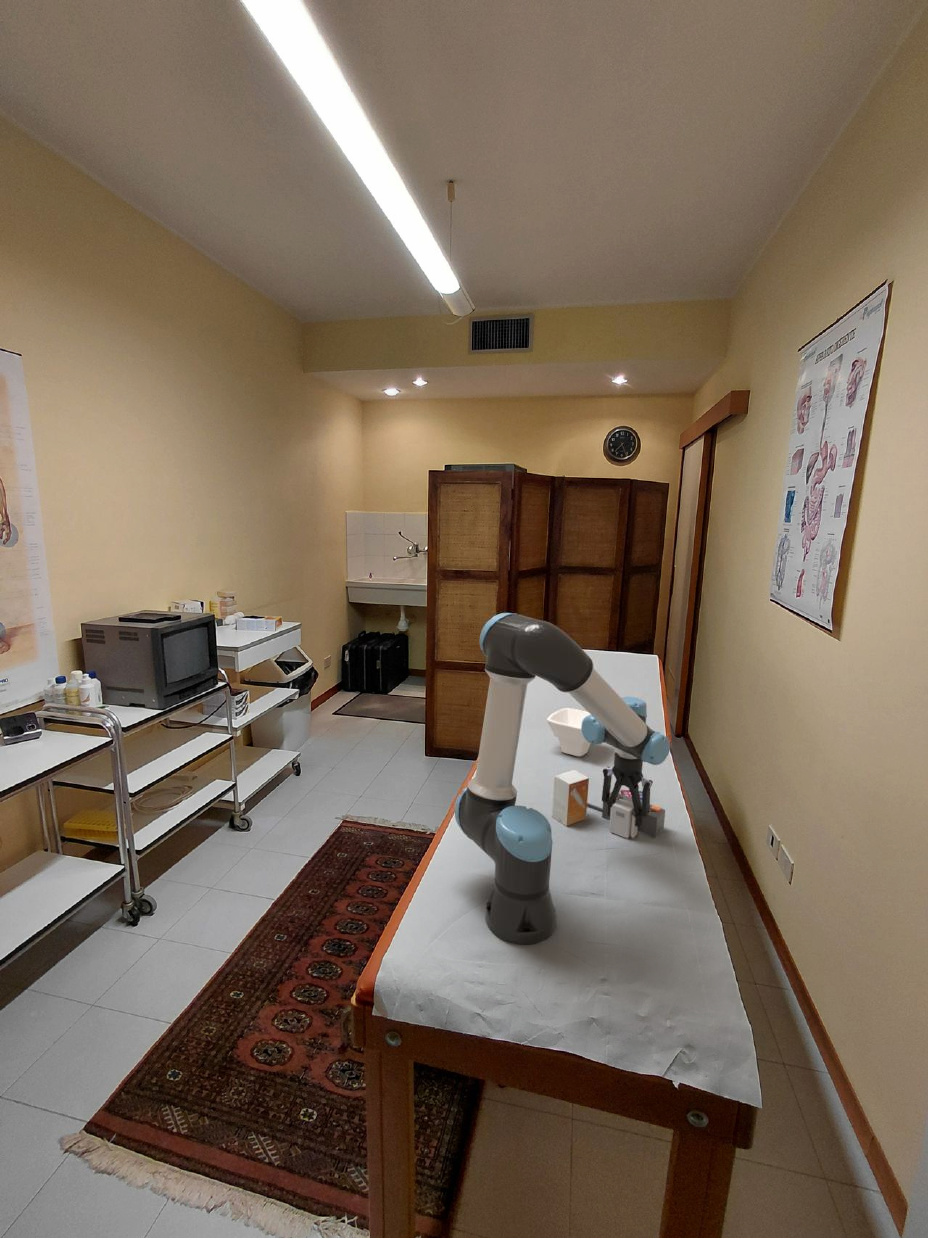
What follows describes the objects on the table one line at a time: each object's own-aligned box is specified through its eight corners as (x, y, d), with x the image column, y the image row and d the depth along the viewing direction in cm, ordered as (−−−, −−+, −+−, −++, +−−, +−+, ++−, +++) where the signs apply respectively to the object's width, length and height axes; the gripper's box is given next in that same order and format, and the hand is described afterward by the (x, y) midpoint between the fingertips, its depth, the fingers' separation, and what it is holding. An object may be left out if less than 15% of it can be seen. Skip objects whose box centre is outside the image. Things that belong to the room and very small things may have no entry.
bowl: (562, 739, 218) (564, 706, 216) (608, 751, 207) (611, 716, 205) (540, 754, 203) (542, 718, 201) (589, 768, 192) (591, 731, 190)
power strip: (655, 838, 149) (657, 816, 148) (577, 807, 165) (579, 787, 164) (663, 829, 154) (665, 807, 153) (587, 800, 169) (588, 780, 168)
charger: (627, 838, 148) (629, 811, 147) (610, 831, 151) (612, 805, 150) (640, 826, 155) (642, 800, 153) (623, 819, 158) (625, 794, 157)
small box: (566, 827, 154) (569, 784, 152) (551, 817, 159) (553, 775, 157) (586, 819, 158) (589, 777, 156) (571, 809, 164) (573, 769, 161)
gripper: (667, 759, 145) (660, 838, 149) (603, 740, 157) (598, 814, 161) (657, 768, 139) (650, 850, 143) (591, 748, 151) (586, 824, 155)
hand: (623, 831), depth 152 cm, fingers open, 5 cm apart
